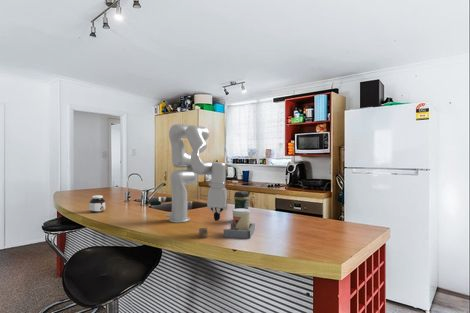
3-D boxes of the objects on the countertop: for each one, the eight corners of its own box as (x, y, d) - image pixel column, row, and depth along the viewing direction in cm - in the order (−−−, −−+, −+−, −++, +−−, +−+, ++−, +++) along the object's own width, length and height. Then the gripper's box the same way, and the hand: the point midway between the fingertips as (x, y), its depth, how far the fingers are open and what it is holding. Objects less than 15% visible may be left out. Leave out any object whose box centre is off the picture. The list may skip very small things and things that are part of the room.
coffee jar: (242, 223, 166) (242, 192, 166) (231, 221, 170) (232, 191, 170) (251, 220, 174) (251, 190, 174) (240, 218, 178) (240, 189, 178)
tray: (223, 236, 136) (223, 229, 136) (231, 228, 152) (231, 222, 152) (250, 238, 133) (250, 231, 133) (254, 230, 149) (254, 223, 149)
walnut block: (199, 238, 134) (199, 230, 134) (199, 236, 138) (199, 228, 138) (207, 238, 134) (207, 229, 134) (207, 235, 138) (207, 227, 138)
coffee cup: (229, 231, 146) (229, 209, 146) (245, 229, 150) (245, 207, 150) (236, 236, 137) (237, 212, 137) (253, 234, 141) (253, 210, 141)
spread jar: (93, 213, 193) (93, 197, 193) (84, 212, 200) (84, 195, 200) (109, 211, 203) (109, 195, 204) (100, 209, 210) (100, 194, 210)
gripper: (202, 185, 143) (201, 220, 144) (230, 187, 140) (228, 223, 141) (206, 184, 151) (205, 217, 151) (233, 185, 147) (232, 219, 148)
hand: (216, 220), depth 146 cm, fingers closed
